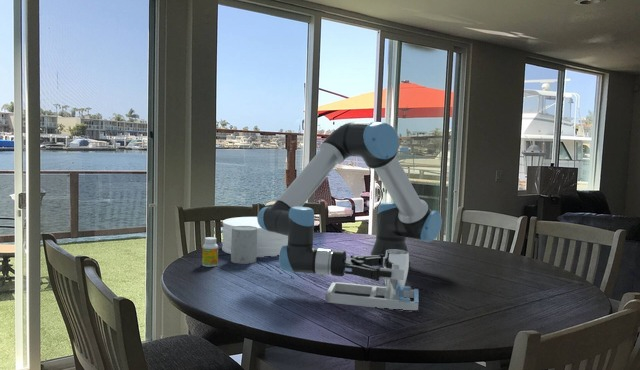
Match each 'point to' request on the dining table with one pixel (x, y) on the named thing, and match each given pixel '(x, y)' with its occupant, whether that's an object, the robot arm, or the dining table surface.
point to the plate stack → (265, 240)
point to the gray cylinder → (244, 244)
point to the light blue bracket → (416, 298)
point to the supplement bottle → (210, 252)
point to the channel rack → (367, 301)
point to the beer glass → (396, 261)
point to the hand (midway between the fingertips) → (404, 269)
